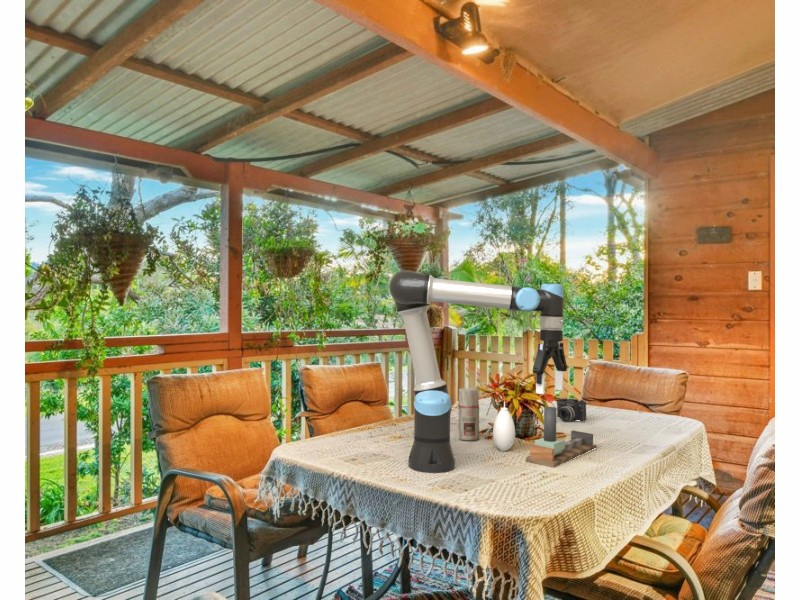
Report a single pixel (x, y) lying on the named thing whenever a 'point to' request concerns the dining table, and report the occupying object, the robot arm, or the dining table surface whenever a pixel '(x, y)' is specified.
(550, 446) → the green base with post
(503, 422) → the white air blower bulb
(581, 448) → the rail bed
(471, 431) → the spray can
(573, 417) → the camera
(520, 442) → the dining table surface
